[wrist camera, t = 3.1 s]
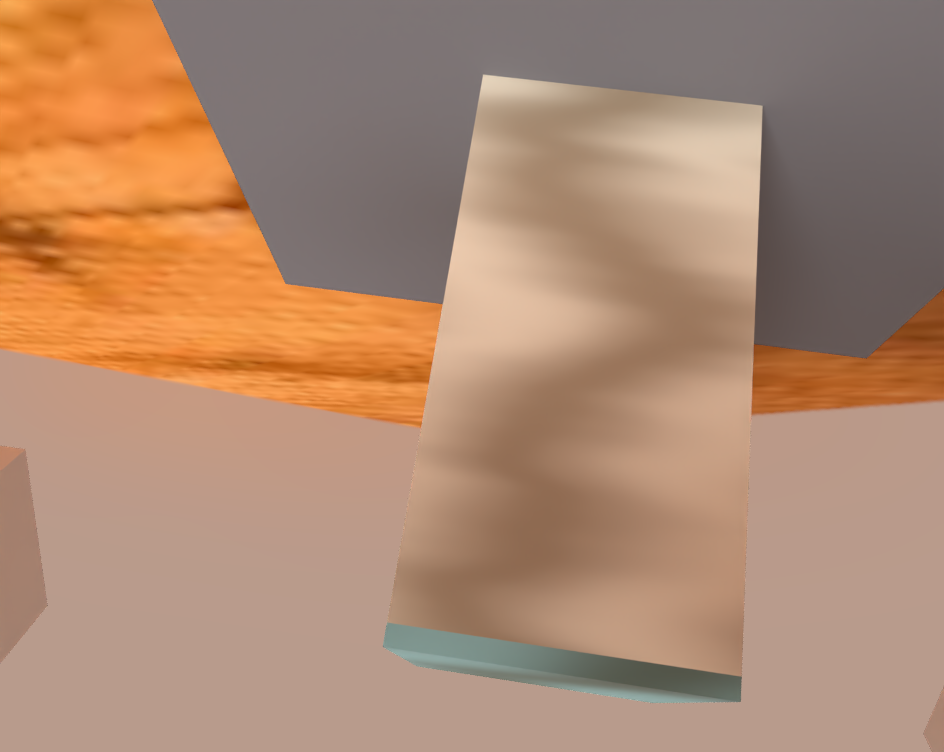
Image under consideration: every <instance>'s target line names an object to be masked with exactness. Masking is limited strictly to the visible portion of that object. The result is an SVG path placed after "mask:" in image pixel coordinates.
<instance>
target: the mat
mask: <svg viewBox="0 0 944 752" xmlns="http://www.w3.org/2000/svg"><path fill="white" fill-rule="evenodd" d="M152 1H153V3H154V5H155V7H156V9H157V11H158V13H159V16H160V18H161V20H162V22H163V24H164V26H165V28H166V30H167V33H168V35H169V37H170V39H171V41H172V43H173V45H174V47H175V50H176V52H177V54H178V56H179V58H180V60H181V62H182V64H183V67H184V69H185V71H186V73H187V75H188V77H189V79H190V81H191V84H192V86H193V88H194V90H195V92H196V94H197V96H198V98H199V100H200V103H201V105H202V107H203V109H204V111H205V113H206V115H207V117H208V120H209V122H210V124H211V126H212V128H213V130H214V132H215V134H216V137H217V139H218V141H219V143H220V145H221V147H222V149H223V151H224V154H225V156H226V158H227V160H228V162H229V164H230V166H231V168H232V171H233V173H234V175H235V177H236V179H237V181H238V183H239V185H240V188H241V190H242V192H243V194H244V196H245V198H246V200H247V202H248V205H249V207H250V209H251V211H252V213H253V215H254V217H255V219H256V221H257V224H258V226H259V228H260V230H261V232H262V234H263V236H264V238H265V241H266V243H267V245H268V247H269V249H270V251H271V253H272V255H273V258H274V260H275V262H276V264H277V266H278V268H279V270H280V272H281V275H282V277H283V279H284V281H285V283H286V284H291V285H298V286H306V287H314V288H322V289H330V290H337V291H345V292H353V293H361V294H369V295H376V296H384V297H392V298H400V299H407V300H415V301H423V302H431V303H439V304H443V301H444V295H445V289H446V284H447V278H448V272H449V266H450V261H451V255H452V249H453V244H454V238H455V232H456V227H457V221H458V215H459V209H460V204H461V198H462V192H463V187H464V181H465V175H466V170H467V164H468V158H469V152H470V147H471V141H472V135H473V130H474V124H475V118H476V112H477V107H478V101H479V95H480V90H481V84H482V78H483V75H491V76H500V77H509V78H518V79H527V80H536V81H545V82H554V83H563V84H572V85H581V86H590V87H599V88H608V89H617V90H626V91H635V92H644V93H653V94H662V95H671V96H680V97H689V98H698V99H707V100H716V101H725V102H734V103H743V104H752V105H761V106H763V109H762V137H761V164H760V191H759V218H758V245H757V272H756V299H755V326H754V344H758V345H766V346H774V347H781V348H789V349H797V350H805V351H812V352H820V353H828V354H836V355H844V356H851V357H859V358H867V357H868V356H870V355H871V354H872V353H873V352H874V351H875V350H876V349H877V348H878V347H879V346H881V345H882V344H883V343H884V342H885V341H886V340H887V339H888V338H889V337H891V336H892V335H893V334H894V333H895V332H896V331H897V330H898V329H899V328H900V327H902V326H903V325H904V324H905V323H906V322H907V321H908V320H909V319H910V318H911V317H913V316H914V315H915V314H916V313H917V312H918V311H919V310H920V309H921V308H923V307H924V306H925V305H926V304H927V303H928V302H929V301H930V300H931V299H932V298H934V297H935V296H936V295H937V294H938V293H939V292H940V291H941V290H942V289H944V0H152Z"/></svg>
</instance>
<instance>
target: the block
mask: <svg viewBox="0 0 944 752" xmlns="http://www.w3.org/2000/svg"><path fill="white" fill-rule="evenodd" d="M762 109H763V106H761V105H752V104H743V103H734V102H725V101H716V100H707V99H698V98H689V97H680V96H671V95H662V94H653V93H644V92H635V91H626V90H617V89H608V88H599V87H590V86H581V85H572V84H563V83H554V82H545V81H536V80H527V79H518V78H509V77H500V76H491V75H483V78H482V84H481V90H480V95H479V101H478V107H477V112H476V118H475V124H474V130H473V135H472V141H471V147H470V152H469V158H468V164H467V170H466V175H465V181H464V187H463V192H462V198H461V204H460V209H459V215H458V221H457V227H456V232H455V238H454V244H453V249H452V255H451V261H450V266H449V272H448V278H447V284H446V289H445V295H444V301H443V306H442V312H441V318H440V323H439V329H438V335H437V341H436V346H435V352H434V358H433V363H432V369H431V375H430V381H429V386H428V392H427V398H426V403H425V409H424V415H423V420H422V426H421V432H420V438H419V443H418V449H417V455H416V460H415V466H414V472H413V477H412V484H411V489H410V495H409V501H408V506H407V512H406V518H405V523H404V529H403V535H402V541H401V546H400V552H399V557H398V563H397V569H396V575H395V580H394V586H393V592H392V597H391V603H390V609H389V614H388V620H387V626H386V632H385V637H384V643H383V647H384V648H386V649H388V650H389V651H391V652H393V653H395V654H396V655H398V656H400V657H402V658H403V659H405V660H407V661H409V662H411V663H412V664H414V665H416V666H420V667H425V668H432V669H438V670H444V671H451V672H457V673H464V674H470V675H477V676H483V677H490V678H496V679H502V680H509V681H515V682H522V683H528V684H535V685H541V686H548V687H554V688H560V689H567V690H573V691H580V692H586V693H593V694H599V695H606V696H612V697H618V698H625V699H632V700H638V701H644V702H650V703H678V702H679V703H685V702H688V703H689V702H740V701H741V679H742V650H743V623H744V596H745V571H746V570H745V569H746V542H747V516H748V489H749V462H750V461H749V460H750V434H751V408H752V381H753V354H754V326H755V299H756V272H757V245H758V218H759V191H760V164H761V137H762Z"/></svg>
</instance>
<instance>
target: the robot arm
mask: <svg viewBox="0 0 944 752" xmlns="http://www.w3.org/2000/svg"><path fill="white" fill-rule="evenodd" d="M46 607H47V598H46V592H45V584H44V577H43V570H42V563H41V556H40V549H39V542H38V536H37V528H36V521H35V514H34V508H33V500H32V493H31V486H30V478H29V471H28V464H27V458H26V451H25V449H20V448H13V447H6V446H0V663H1V662H2V661H3V659H4V658H5V657H6V656H7V654H8V653H9V652H10V651H11V650H12V648H13V647H14V646H15V645H16V644H17V642H18V641H19V640H20V639H21V637H22V636H23V635H24V634H25V633H26V631H27V630H28V629H29V627H30V626H31V625H32V624H33V623H34V622H35V620H36V619H37V618H38V617H39V615H40V614H41V613H42V612H43V610H44V609H45V608H46ZM923 734H924V736H925V738H926V740H927V742H928V744H929V747H930V749H931V751H932V752H944V687H943V690H942V692H941V694H940V697H939V699H938V701H937V704H936V706H935V708H934V710H933V712H932V715H931V717H930V719H929V721H928V724H927V726H926V728H925V731H924V733H923Z"/></svg>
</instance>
